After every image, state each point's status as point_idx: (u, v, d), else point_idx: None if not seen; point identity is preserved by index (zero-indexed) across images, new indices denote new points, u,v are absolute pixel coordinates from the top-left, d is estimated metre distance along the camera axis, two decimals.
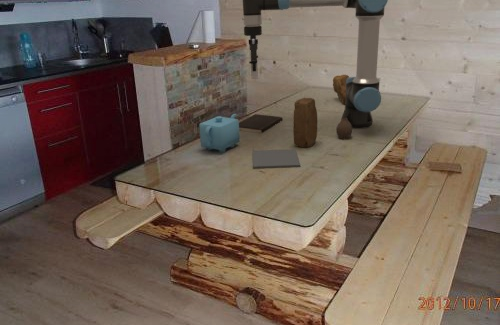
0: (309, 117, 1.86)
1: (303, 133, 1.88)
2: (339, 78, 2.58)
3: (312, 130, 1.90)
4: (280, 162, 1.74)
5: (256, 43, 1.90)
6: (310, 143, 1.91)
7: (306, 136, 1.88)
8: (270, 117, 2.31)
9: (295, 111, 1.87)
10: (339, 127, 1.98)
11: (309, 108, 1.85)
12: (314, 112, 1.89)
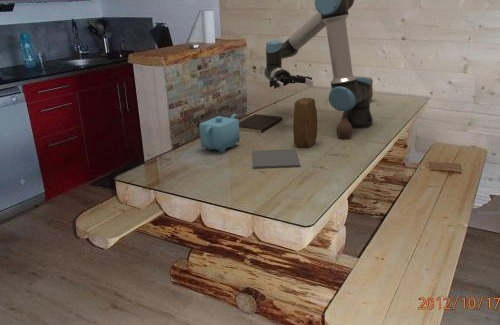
0: (309, 117, 1.86)
1: (303, 133, 1.88)
2: None
3: (312, 130, 1.90)
4: (280, 162, 1.74)
5: (280, 77, 2.06)
6: (310, 143, 1.91)
7: (306, 136, 1.88)
8: (270, 117, 2.31)
9: (295, 111, 1.87)
10: (339, 127, 1.98)
11: (309, 108, 1.85)
12: (314, 112, 1.89)
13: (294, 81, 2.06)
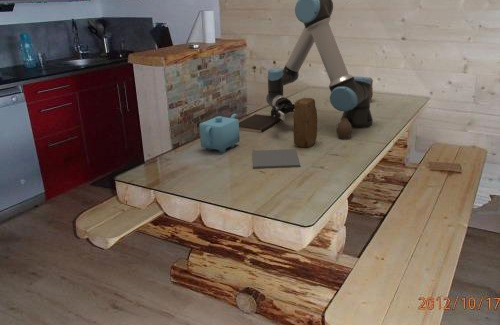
0: (309, 117, 1.86)
1: (303, 133, 1.88)
2: None
3: (312, 130, 1.90)
4: (280, 162, 1.74)
5: (281, 106, 2.09)
6: (310, 143, 1.91)
7: (306, 136, 1.88)
8: (270, 117, 2.31)
9: (295, 111, 1.87)
10: (339, 127, 1.98)
11: (309, 108, 1.85)
12: (314, 112, 1.89)
13: None
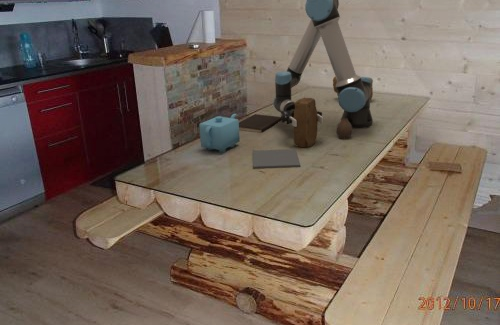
0: (309, 117, 1.86)
1: (303, 133, 1.88)
2: None
3: (313, 130, 1.90)
4: (280, 162, 1.74)
5: (291, 111, 2.00)
6: (310, 143, 1.91)
7: (306, 136, 1.88)
8: (270, 117, 2.31)
9: (295, 111, 1.87)
10: (339, 127, 1.98)
11: (309, 108, 1.85)
12: (314, 112, 1.89)
13: None
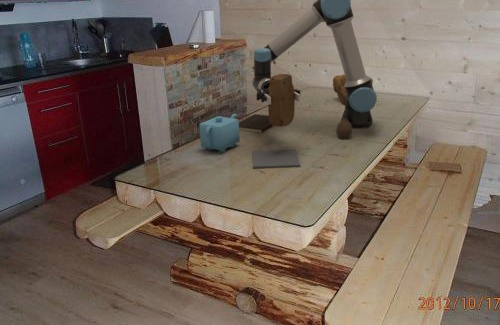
0: (285, 94, 1.74)
1: (278, 111, 1.76)
2: (339, 78, 2.58)
3: (289, 108, 1.78)
4: (280, 162, 1.74)
5: (267, 89, 1.88)
6: (286, 122, 1.79)
7: (281, 114, 1.76)
8: None
9: (270, 87, 1.75)
10: (339, 127, 1.98)
11: (285, 84, 1.73)
12: (291, 89, 1.77)
13: None
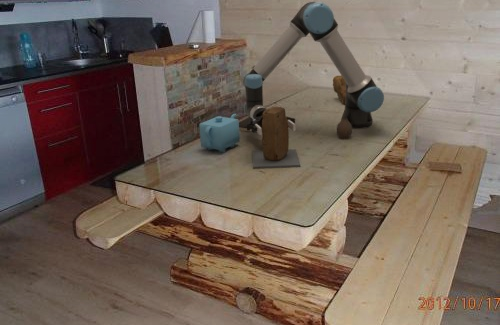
0: (278, 128, 1.70)
1: (272, 146, 1.72)
2: (339, 78, 2.58)
3: (283, 141, 1.75)
4: (280, 162, 1.74)
5: None
6: (280, 156, 1.75)
7: (275, 148, 1.72)
8: None
9: (263, 121, 1.71)
10: (339, 127, 1.98)
11: (278, 118, 1.69)
12: (284, 122, 1.73)
13: None
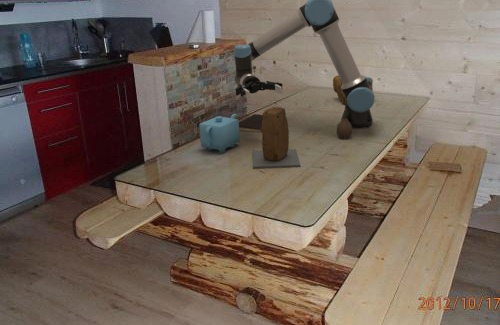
0: (278, 128, 1.70)
1: (272, 146, 1.72)
2: (339, 78, 2.58)
3: (283, 142, 1.75)
4: (280, 162, 1.74)
5: None
6: (280, 156, 1.75)
7: (275, 149, 1.72)
8: None
9: (263, 122, 1.71)
10: (339, 127, 1.98)
11: (278, 119, 1.69)
12: (284, 123, 1.73)
13: (263, 88, 1.91)
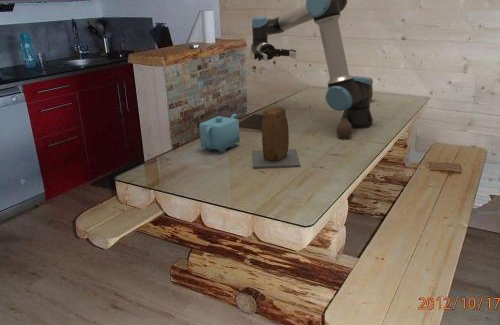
0: (279, 128, 1.70)
1: (272, 146, 1.72)
2: None
3: (283, 142, 1.75)
4: (280, 162, 1.74)
5: None
6: (280, 156, 1.75)
7: (275, 149, 1.72)
8: None
9: (263, 122, 1.71)
10: (339, 127, 1.98)
11: (278, 119, 1.69)
12: (284, 123, 1.73)
13: (278, 54, 2.12)
